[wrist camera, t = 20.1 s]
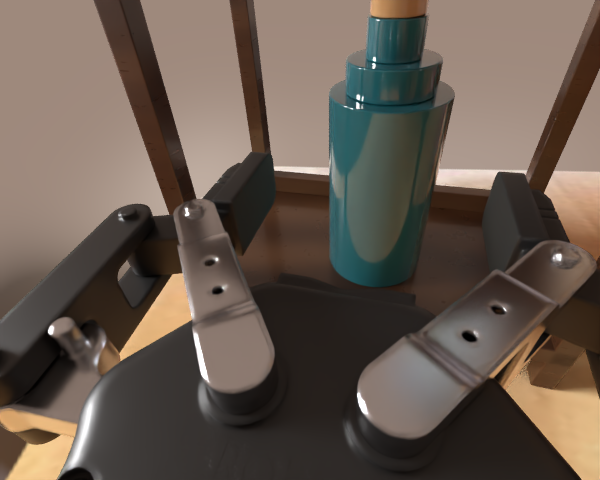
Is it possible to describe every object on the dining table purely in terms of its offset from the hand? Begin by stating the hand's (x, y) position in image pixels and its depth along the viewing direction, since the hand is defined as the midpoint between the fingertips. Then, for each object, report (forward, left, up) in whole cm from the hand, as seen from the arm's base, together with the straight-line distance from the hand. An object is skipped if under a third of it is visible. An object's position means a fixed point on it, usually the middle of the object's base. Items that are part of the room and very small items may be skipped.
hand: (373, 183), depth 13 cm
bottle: (-3, -6, -10) cm, 12 cm away
